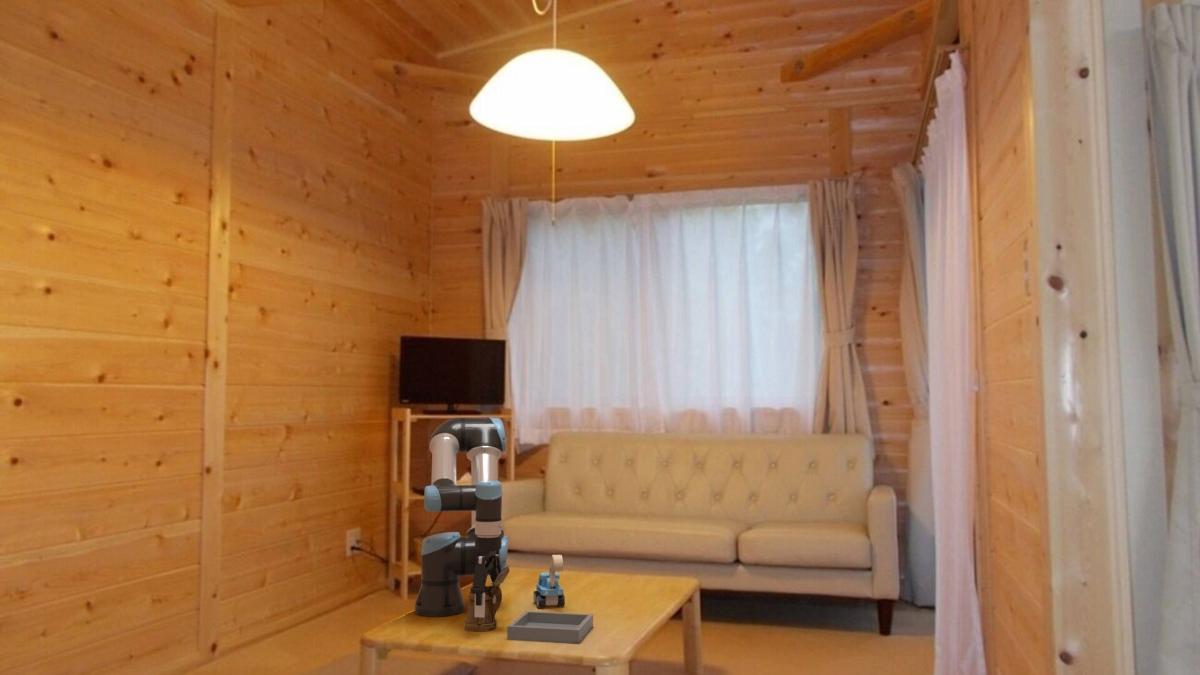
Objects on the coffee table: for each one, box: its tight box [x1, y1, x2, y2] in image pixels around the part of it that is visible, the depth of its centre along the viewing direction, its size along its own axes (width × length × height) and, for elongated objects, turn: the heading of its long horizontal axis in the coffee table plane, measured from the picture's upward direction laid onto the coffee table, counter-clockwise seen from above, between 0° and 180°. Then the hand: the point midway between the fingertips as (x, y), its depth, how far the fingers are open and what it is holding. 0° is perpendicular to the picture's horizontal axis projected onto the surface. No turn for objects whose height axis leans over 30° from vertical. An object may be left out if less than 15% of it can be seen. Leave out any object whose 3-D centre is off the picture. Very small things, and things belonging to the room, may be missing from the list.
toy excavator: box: [532, 554, 566, 609], centre depth 280 cm, size 9×17×17 cm, turn 15°
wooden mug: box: [464, 565, 510, 632], centre depth 254 cm, size 9×14×18 cm, turn 66°
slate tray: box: [506, 610, 594, 645], centre depth 249 cm, size 20×18×4 cm
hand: (487, 611), depth 253 cm, fingers open, 13 cm apart
